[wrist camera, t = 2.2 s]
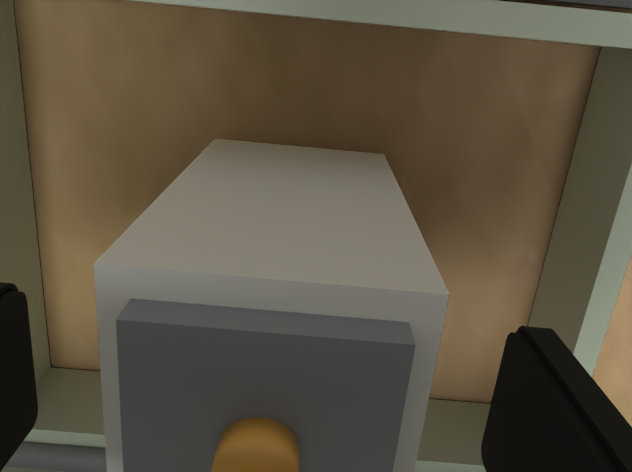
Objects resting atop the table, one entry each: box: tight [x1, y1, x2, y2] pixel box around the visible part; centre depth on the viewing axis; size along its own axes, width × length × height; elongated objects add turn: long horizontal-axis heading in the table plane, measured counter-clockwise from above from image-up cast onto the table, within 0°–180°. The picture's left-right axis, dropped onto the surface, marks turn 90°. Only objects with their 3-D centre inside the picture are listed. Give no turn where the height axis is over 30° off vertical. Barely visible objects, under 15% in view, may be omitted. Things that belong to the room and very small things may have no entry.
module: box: [94, 138, 450, 472], centre depth 12 cm, size 5×5×10 cm
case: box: [0, 0, 632, 472], centre depth 10 cm, size 15×17×14 cm
